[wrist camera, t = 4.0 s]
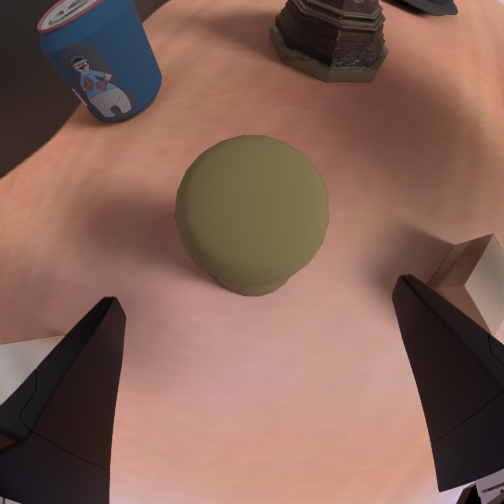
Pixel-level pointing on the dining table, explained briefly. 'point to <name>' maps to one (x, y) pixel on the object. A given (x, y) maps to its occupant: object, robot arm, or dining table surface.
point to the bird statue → (331, 38)
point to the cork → (252, 213)
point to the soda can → (102, 56)
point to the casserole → (434, 6)
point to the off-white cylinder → (22, 361)
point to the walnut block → (474, 281)
